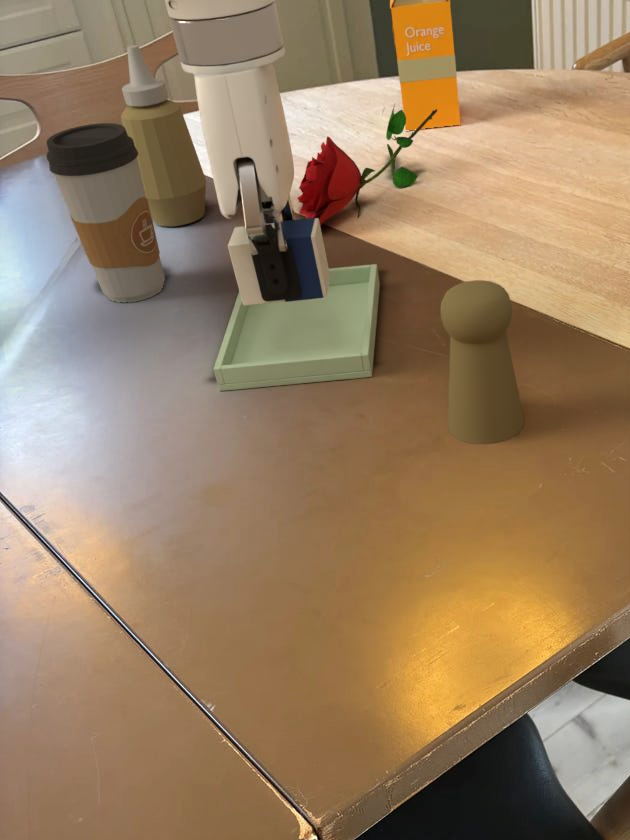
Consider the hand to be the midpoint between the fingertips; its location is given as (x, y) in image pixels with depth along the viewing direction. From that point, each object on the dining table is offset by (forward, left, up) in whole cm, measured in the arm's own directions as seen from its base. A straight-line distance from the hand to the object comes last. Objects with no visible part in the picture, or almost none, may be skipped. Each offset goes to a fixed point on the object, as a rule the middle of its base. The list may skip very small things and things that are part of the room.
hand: (285, 283), depth 85 cm
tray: (0, +6, -7) cm, 10 cm away
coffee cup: (-19, +20, -8) cm, 29 cm away
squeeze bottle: (-18, +40, -8) cm, 45 cm away
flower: (+5, +43, -8) cm, 44 cm away
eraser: (0, 0, -1) cm, 1 cm away
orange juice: (+12, +70, -8) cm, 71 cm away
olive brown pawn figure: (+16, -13, -8) cm, 22 cm away
